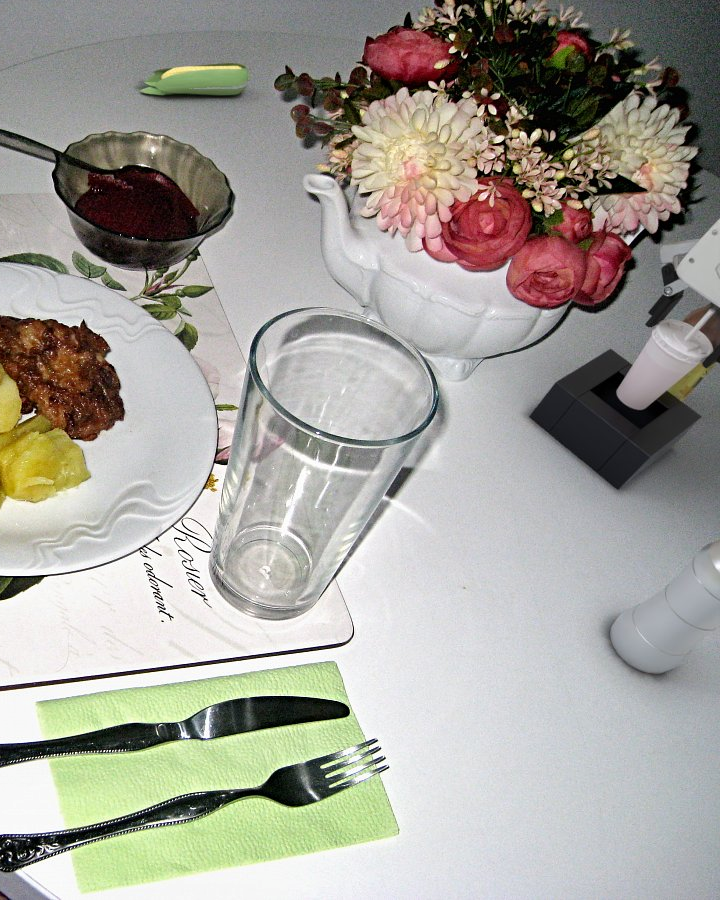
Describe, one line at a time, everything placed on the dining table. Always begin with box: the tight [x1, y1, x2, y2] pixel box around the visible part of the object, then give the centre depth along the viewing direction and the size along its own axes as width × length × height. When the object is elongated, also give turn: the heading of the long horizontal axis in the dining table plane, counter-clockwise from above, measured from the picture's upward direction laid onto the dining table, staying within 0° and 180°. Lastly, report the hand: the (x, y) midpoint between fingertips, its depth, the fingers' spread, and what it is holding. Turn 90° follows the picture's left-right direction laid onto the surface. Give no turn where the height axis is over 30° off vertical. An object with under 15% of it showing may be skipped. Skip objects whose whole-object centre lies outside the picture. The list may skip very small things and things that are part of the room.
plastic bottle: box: [610, 539, 720, 675], centre depth 83 cm, size 6×7×20 cm
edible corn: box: [139, 62, 252, 96], centre depth 148 cm, size 5×20×5 cm, turn 112°
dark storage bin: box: [528, 348, 703, 491], centre depth 108 cm, size 13×13×7 cm
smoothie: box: [616, 309, 715, 410], centre depth 100 cm, size 6×6×14 cm
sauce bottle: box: [667, 301, 720, 403], centre depth 110 cm, size 6×6×20 cm
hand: (681, 341), depth 99 cm, fingers closed on smoothie, 6 cm apart
